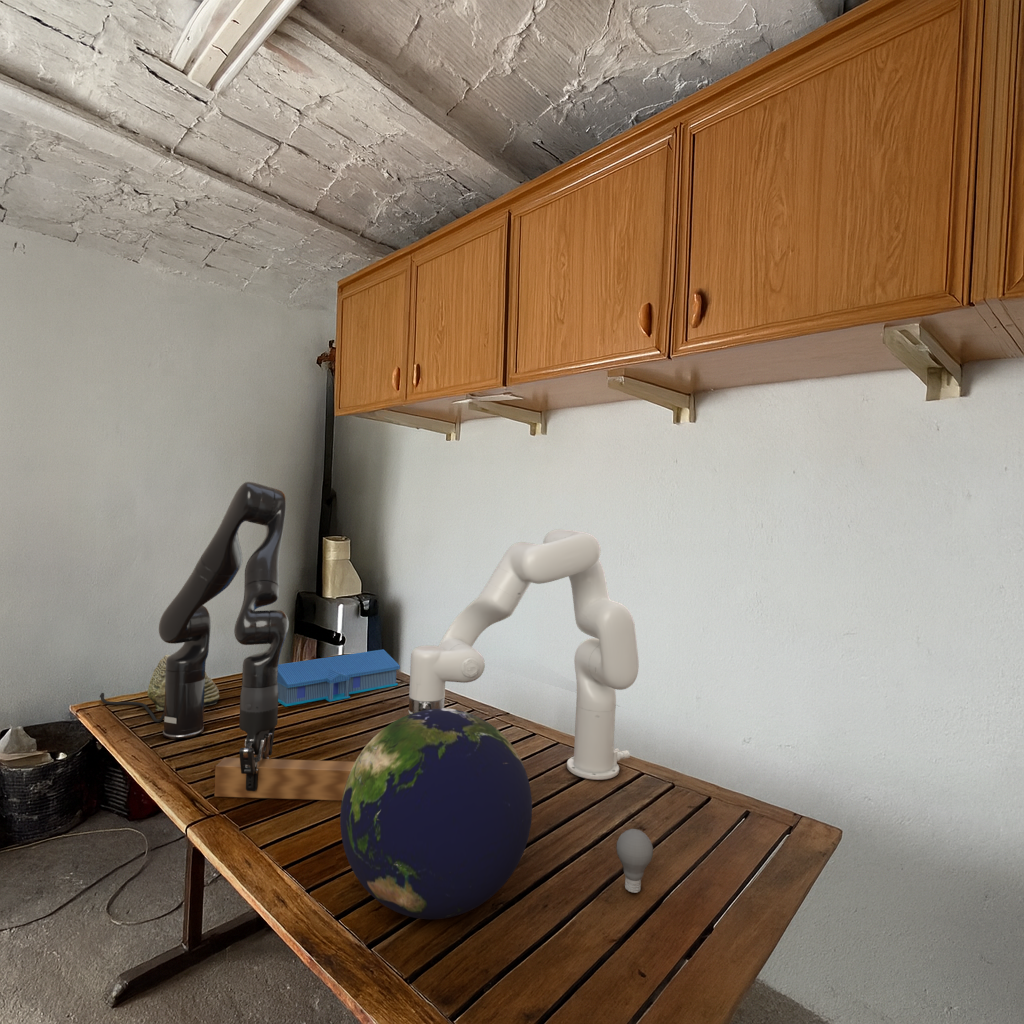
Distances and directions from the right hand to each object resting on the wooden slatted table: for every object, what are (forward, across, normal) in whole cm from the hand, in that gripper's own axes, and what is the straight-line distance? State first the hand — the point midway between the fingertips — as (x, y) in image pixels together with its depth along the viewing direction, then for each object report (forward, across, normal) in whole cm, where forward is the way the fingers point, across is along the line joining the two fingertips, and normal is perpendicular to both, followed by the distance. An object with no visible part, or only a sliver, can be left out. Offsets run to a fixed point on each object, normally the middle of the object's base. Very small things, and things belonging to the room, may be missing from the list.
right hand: (423, 789), depth 135 cm
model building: (+2, +74, +38) cm, 83 cm away
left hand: (0, 0, +35) cm, 35 cm away
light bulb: (+2, -30, -38) cm, 49 cm away
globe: (+2, -35, -6) cm, 35 cm away
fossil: (+2, +52, +76) cm, 92 cm away
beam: (+2, 0, +18) cm, 18 cm away
